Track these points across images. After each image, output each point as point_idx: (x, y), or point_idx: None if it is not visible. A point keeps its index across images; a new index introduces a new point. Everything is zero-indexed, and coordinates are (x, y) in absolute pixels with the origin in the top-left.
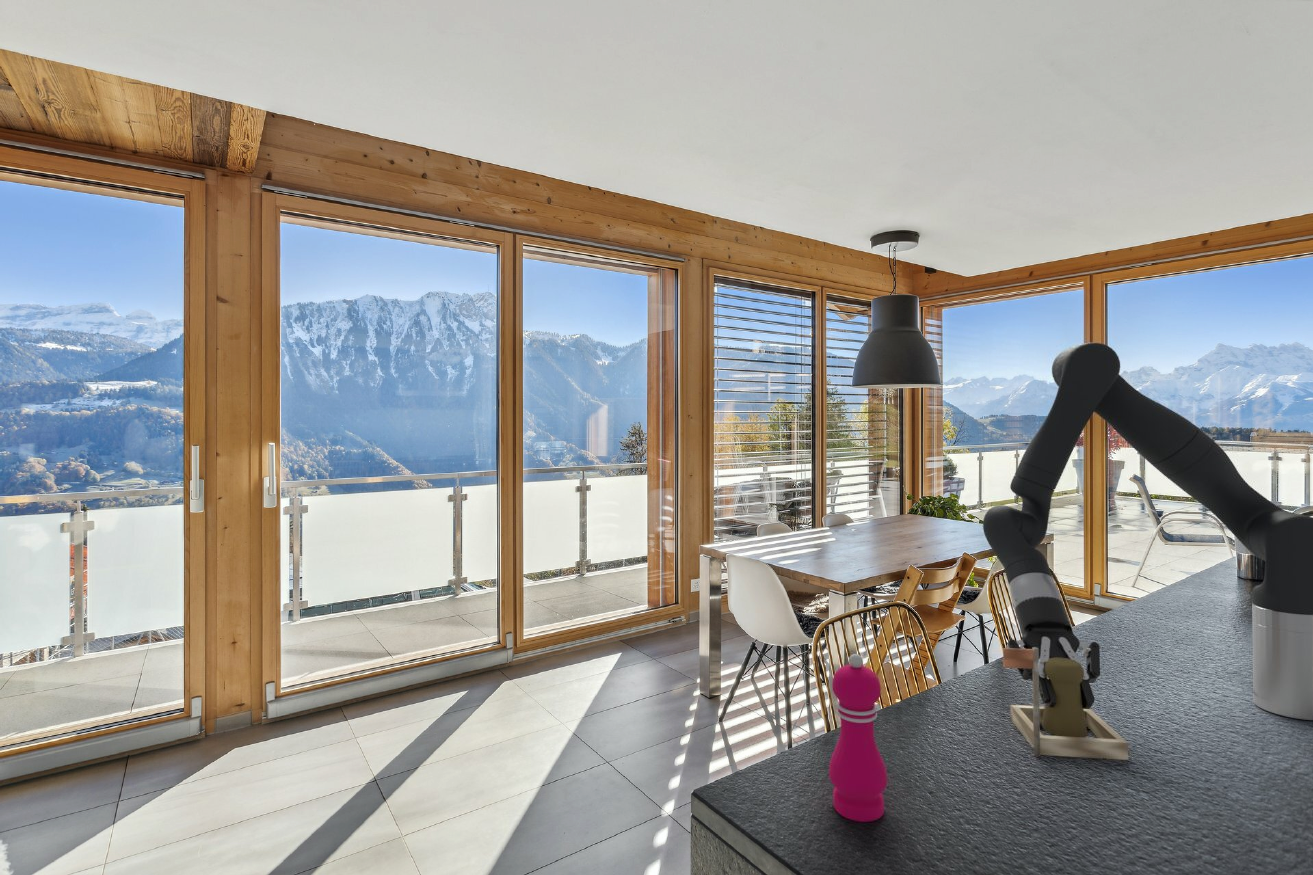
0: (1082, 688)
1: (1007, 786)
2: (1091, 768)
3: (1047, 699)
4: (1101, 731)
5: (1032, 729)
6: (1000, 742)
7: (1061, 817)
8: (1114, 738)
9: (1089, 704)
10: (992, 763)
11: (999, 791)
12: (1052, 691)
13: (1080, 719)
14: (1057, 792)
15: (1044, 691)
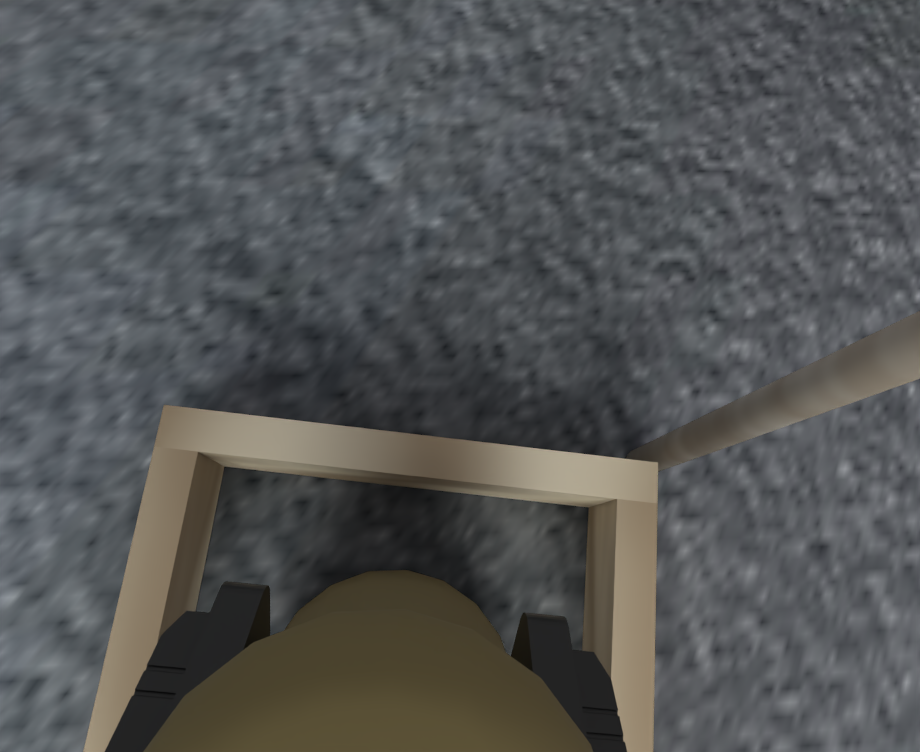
0: None
1: (854, 204)
2: (436, 343)
3: (584, 652)
4: None
5: (649, 580)
6: (772, 617)
7: (731, 22)
8: (193, 486)
9: (251, 584)
10: None
11: (892, 172)
12: None
13: (331, 601)
14: (679, 161)
15: (605, 718)
